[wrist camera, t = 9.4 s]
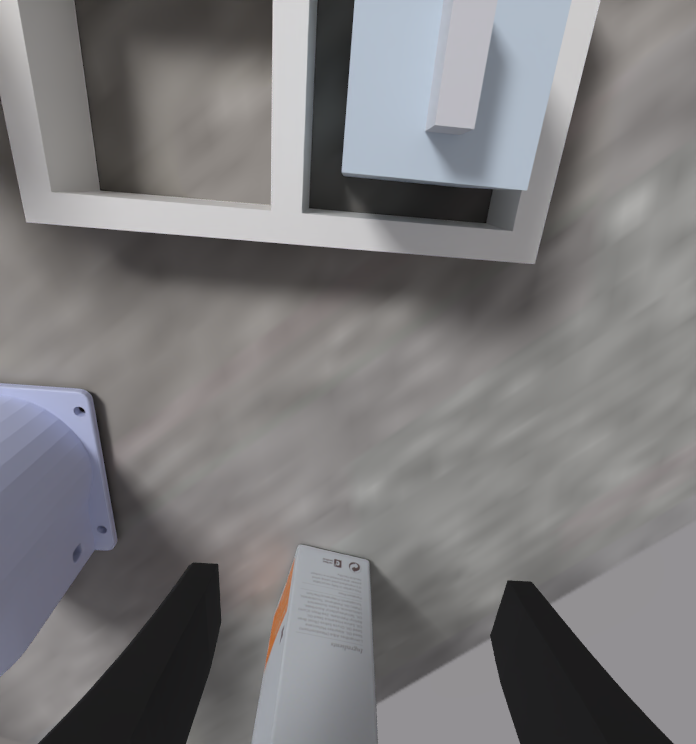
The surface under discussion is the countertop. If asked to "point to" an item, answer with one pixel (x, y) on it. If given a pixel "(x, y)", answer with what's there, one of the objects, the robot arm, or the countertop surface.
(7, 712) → the countertop surface
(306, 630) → the skincare box
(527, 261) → the white divided frame
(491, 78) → the plug
